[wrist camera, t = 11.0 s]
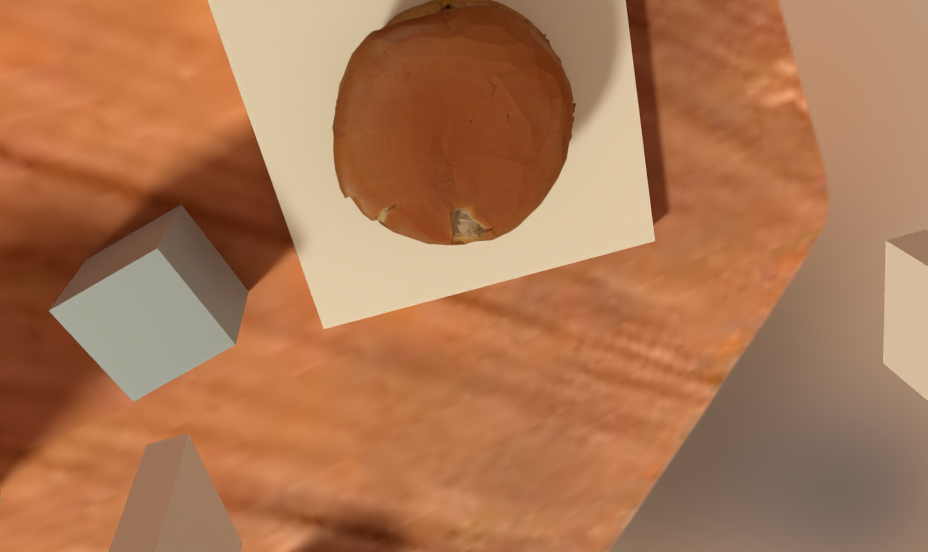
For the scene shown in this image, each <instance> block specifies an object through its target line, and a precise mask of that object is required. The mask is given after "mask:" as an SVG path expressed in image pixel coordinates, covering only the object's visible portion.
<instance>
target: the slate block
mask: <svg viewBox="0 0 928 552" xmlns="http://www.w3.org/2000/svg"><path fill="white" fill-rule="evenodd" d="M248 292H249V291H248V290H247V289H246V287H245V286H244V285H243V283H242V282H241V281H240V280H239V278H238V277H237V276H236V274H235V273H234V272H233V271H232V269H231V268H230V267H229V265H228V264H227V263H226V261H225V260H224V259H223V258H222V256H221V255H220V254H219V252H218V251H217V250H216V249H215V247H214V246H213V245H212V243H211V242H210V241H209V239H208V238H207V237H206V236H205V234H204V233H203V232H202V230H201V229H200V228H199V227H198V225H197V224H196V223H195V221H194V220H193V219H192V217H191V216H190V215H189V214H188V212H187V211H186V210H185V208H184V207H183V206H182V205H179V206H177V207H176V208H174V209H172V210H171V211H169V212H167V213H165V214H164V215H162V216H160V217H159V218H157V219H155V220H153V221H152V222H150V223H148V224H146V225H145V226H143V227H141V228H140V229H138V230H136V231H134V232H133V233H131V234H129V235H128V236H126V237H124V238H122V239H121V240H119V241H117V242H115V243H114V244H112V245H110V246H109V247H107V248H105V249H103V250H102V251H100V252H98V253H96V254H95V255H93V256H91V257H90V258H88V259H86V260H85V262H84V263H83V265H82V266H81V267H80V269H79V270H78V271H77V273H76V274H75V275H74V277H73V278H72V280H71V281H70V282H69V284H68V285H67V286H66V288H65V289H64V291H63V292H62V293H61V295H60V296H59V297H58V299H57V300H56V302H55V303H54V304H53V306H52V307H51V308H50V310H49V312H50V313H51V314H52V315H53V316H54V317H55V318H56V319H57V320H58V322H59V323H60V324H61V325H62V326H63V327H64V328H65V329H66V330H67V331H68V332H69V333H70V334H71V335H72V337H73V338H74V339H75V340H76V341H77V342H78V343H79V344H80V345H81V346H82V347H83V348H84V349H85V351H86V352H87V353H88V354H89V355H90V356H91V357H92V358H93V359H94V360H95V361H96V362H97V363H98V365H99V366H100V367H101V368H102V369H103V370H104V371H105V372H106V373H107V374H108V375H109V376H110V377H111V378H112V380H113V381H114V382H115V383H116V384H117V385H118V386H119V387H120V388H121V389H122V390H123V391H124V392H125V394H126V395H127V396H128V397H129V398H130V399H131V400H132V401H133V402H134V401H135V400H137V399H139V398H141V397H143V396H144V395H146V394H148V393H150V392H152V391H153V390H155V389H157V388H159V387H161V386H162V385H164V384H166V383H168V382H170V381H171V380H173V379H175V378H177V377H179V376H180V375H182V374H184V373H186V372H188V371H189V370H191V369H193V368H195V367H197V366H198V365H200V364H202V363H204V362H205V361H207V360H209V359H211V358H213V357H214V356H216V355H218V354H220V353H222V352H223V351H225V350H227V349H229V348H231V347H232V346H234V345H236V341H237V337H238V333H239V329H240V325H241V321H242V317H243V313H244V309H245V305H246V300H247V296H248Z"/></svg>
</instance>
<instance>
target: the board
mask: <svg viewBox="0 0 928 552" xmlns="http://www.w3.org/2000/svg"><path fill="white" fill-rule="evenodd" d="M429 1H432V0H208V3H209V6H210V9H211V11H212V14H213V17H214V20H215V23H216V26H217V28H218V31H219V34H220V37H221V40H222V43H223V45H224V48H225V51H226V54H227V57H228V59H229V62H230V65H231V68H232V71H233V74H234V76H235V79H236V82H237V85H238V88H239V91H240V93H241V96H242V99H243V102H244V105H245V108H246V110H247V113H248V116H249V119H250V122H251V125H252V127H253V130H254V133H255V136H256V139H257V141H258V144H259V147H260V150H261V153H262V156H263V158H264V161H265V164H266V167H267V170H268V173H269V175H270V178H271V181H272V184H273V187H274V190H275V192H276V195H277V198H278V201H279V204H280V207H281V209H282V212H283V215H284V218H285V221H286V224H287V226H288V229H289V232H290V235H291V238H292V240H293V243H294V246H295V249H296V252H297V255H298V257H299V260H300V263H301V266H302V269H303V272H304V274H305V277H306V280H307V283H308V286H309V289H310V291H311V294H312V297H313V300H314V303H315V306H316V308H317V311H318V314H319V317H320V320H321V322H322V325H323V328H324V329H326V328H330V327H334V326H337V325H341V324H345V323H349V322H352V321H356V320H360V319H364V318H367V317H371V316H375V315H379V314H382V313H386V312H390V311H394V310H398V309H401V308H405V307H409V306H413V305H416V304H420V303H424V302H428V301H431V300H435V299H439V298H443V297H446V296H450V295H454V294H458V293H461V292H465V291H469V290H473V289H476V288H480V287H484V286H488V285H491V284H495V283H499V282H503V281H506V280H510V279H514V278H518V277H522V276H525V275H529V274H533V273H537V272H540V271H544V270H548V269H552V268H555V267H559V266H563V265H567V264H570V263H574V262H578V261H582V260H585V259H589V258H593V257H597V256H600V255H604V254H608V253H612V252H615V251H619V250H623V249H627V248H630V247H634V246H638V245H642V244H646V243H649V242H653V241H655V237H654V229H653V221H652V213H651V204H650V196H649V188H648V180H647V172H646V163H645V155H644V147H643V139H642V131H641V123H640V114H639V106H638V98H637V90H636V82H635V73H634V65H633V57H632V49H631V41H630V33H629V24H628V16H627V8H626V0H493V1H496V2H498V3H501V4H503V5H506V6H508V7H509V8H511V9H513V10H515V11H517V12H518V13H520V14H521V15H523V16H524V17H525V18H527V19H528V20H530V21H531V22H532V23H533V24H534V25H535V26H536V27H537V28H538V29H539V30H540V31H541V32H542V34H546V39H548V40H549V41H550V45H551V47H552V49H553V50H554V52H555V53H556V55H557V56H558V57H559V58H560V60H561V64H562V67H563V69H564V71H565V73H566V76H567V78H568V80H569V82H570V85H571V89H572V96H573V100H574V101H573V103H576V106H575V112H574V113H573V116H574V122H573V127H572V138H571V140H570V142H569V148H568V155H567V160H566V162H565V164H564V166H563V168H562V171H561V173H560V175H559V177H558V179H557V181H556V182H555V184H554V185H553V187H552V189H551V190H550V192H549V193H548V195H547V196H546V198H545V199H544V200H543V202H542V203H541V205H540V206H539V207H538V208H537V209H535V210H534V211H533V212H532V213H531V214H530V215H529V216H528V217H527V218H526V219H525V220H524V221H523V222H522V223H521V224H520V225H519V226H518V227H517V228H515V229H514V230H512V231H511V232H509V233H507V234H505V235H502V236H500V237H498V238H496V239H494V240H489V241H476V242H471V243H468V244H465V245H437V244H427V243H424V242H421V241H418V240H415V239H412V238H409V237H406V236H403V235H400V234H397V233H394V232H392V231H391V230H389V229H387V228H386V227H384V226H383V225H381V224H380V223H379V221H378V220H376V221H371V220H370V219H369V218H367V217H366V216H365V215H363V214H362V212H361V211H360V210H359V208H358V207H357V206H356V204H355V203H354V201H353V200H352V199H351V198H350V197H347V198H345V197H344V195H343V193H342V192H341V190H340V186H339V183H338V179H337V176H336V171H335V165H334V155H333V137H334V136H333V128H332V126H333V122H334V116H335V107H336V101H337V97H338V91H339V84H340V82H341V80H342V77H343V75H344V72H345V70H346V67H347V64H348V62H349V59H350V57H351V55H352V53H353V52H354V51H355V50H356V48H357V47H358V46H359V45H360V43H361V42H362V41H363V40H364V39H365V38H366V36H367V35H369V34H370V33H371V32H372V31H374V30H380V29H381V28H383V27H384V26H385V25H386V24H387V23H388V22H389V21H390V20H391V19H392V18H393V17H394V16H396V15H398V14H399V13H401V12H403V11H405V10H407V9H409V8H412V7H415V6H418V5H421V4H424V3H426V2H429ZM331 128H332V129H331Z"/></svg>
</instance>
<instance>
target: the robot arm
mask: <svg viewBox="0 0 928 552" xmlns="http://www.w3.org/2000/svg"><path fill="white" fill-rule="evenodd" d="M884 309H885V310H884V351H883V352H884V354H883V363H884V364H885V365H886V366H887V367H888V368H890V369H891V370H892V371H893V372H894V373H896V374H897V375H898V376H899V377H900V378H902V379H903V380H904V381H905V382H906V383H907V384H909V385H910V386H911V387H912V388H914V389H915V390H916V391H917V392H918V393H920V394H921V395H922V396H923V397H924V398H925V399H926V400H928V231H927V230H923V231H919V232H915V233H911V234H908V235H904V236H901V237H897V238H894V239H890V240H887V241H886V263H885V307H884ZM241 550H242V542H241V540H240V538H239V536H238V534H237V532H236V529H235V527H234V525H233V523H232V521H231V519H230V517H229V515H228V513H227V511H226V509H225V507H224V505H223V503H222V501H221V499H220V497H219V495H218V493H217V491H216V489H215V487H214V485H213V483H212V481H211V478H210V476H209V474H208V472H207V470H206V468H205V466H204V464H203V462H202V460H201V458H200V456H199V454H198V452H197V450H196V448H195V446H194V444H193V442H192V440H191V438H190V436H189V434H184V435H181V436H177V437H174V438H170V439H166V440H163V441H159V442H156V443H152V444H148V445H146V448H145V451H144V453H143V456H142V459H141V462H140V465H139V468H138V471H137V473H136V476H135V479H134V482H133V485H132V488H131V491H130V493H129V496H128V499H127V502H126V505H125V508H124V510H123V513H122V516H121V519H120V522H119V525H118V528H117V530H116V533H115V536H114V539H113V542H112V545H111V548H110V550H109V552H241Z"/></svg>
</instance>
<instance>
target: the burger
mask: <svg viewBox="0 0 928 552" xmlns="http://www.w3.org/2000/svg"><path fill="white" fill-rule="evenodd" d="M573 101H574V100H573V96H572V89H571V85H570V82H569V80H568V78H567V76H566V73H565V71H564V69H563V67H562V64H561V60H560V58H559V57H558V56H557V55H556V53H555V52H554V50H553V49H552V47H551V45H550V41H549V40H548V39H546V34H542V32H541V31H540V30H539V29H538V28H537V27H536V26H535V25H534V24H533V23H532V22H531V21H530V20H528V19H527V18H525V17H524V16H523V15H521V14H520V13H518V12H517V11H515V10H513V9H511V8H509V7H508V6H506V5H503V4H501V3H498V2H496V1H493V0H432V1H429V2H426V3H424V4H421V5H418V6H415V7H412V8H409V9H407V10H405V11H403V12H401V13H399V14H398V15H396V16H394V17H393V18H392V19H391V20H390V21H389V22H388V23H387V24H386V25H385V26H384V27H383V28H381V29H380V30H374V31H372V32H371V33H370V34H369V35H367V36H366V38H365V39H364V40H363V41H362V42H361V43H360V45H359V46H358V47H357V48H356V50H355V51H354V52H353V53H352V55H351V57H350V59H349V62H348V64H347V67H346V70H345V72H344V75H343V77H342V80H341V82H340V84H339V91H338V97H337V101H336V107H335V116H334V122H333V126H332V128H333V136H334V137H333V155H334V165H335V171H336V176H337V179H338V183H339V186H340V190H341V192H342V193H343V195H344V197H345V198H347V197H350V198H351V199H352V200H353V201H354V203H355V204H356V206H357V207H358V208H359V210H360V211H361V212H362V214H363V215H365V216H366V217H367V218H369V219H370V220H371V221H376V220H378V221H379V223H380V224H381V225H383V226H384V227H386V228H387V229H389V230H391V231H392V232H394V233H397V234H400V235H403V236H406V237H409V238H412V239H415V240H418V241H421V242H424V243H427V244H437V245H465V244H468V243H471V242H476V241H489V240H494V239H496V238H498V237H500V236H502V235H505V234H507V233H509V232H511V231H512V230H514V229H515V228H517V227H518V226H519V225H520V224H521V223H522V222H523V221H524V220H525V219H526V218H527V217H528V216H529V215H530V214H531V213H532V212H533V211H534V210H535V209H537V208H538V207H539V206H540V205H541V203H542V202H543V200H544V199H545V198H546V196H547V195H548V193H549V192H550V190H551V189H552V187H553V185H554V184H555V182H556V181H557V179H558V177H559V175H560V173H561V171H562V168H563V166H564V164H565V162H566V160H567V155H568V148H569V142H570V140H571V138H572V127H573V122H574V116H573V113H574V112H575V106H576V103H573ZM332 128H331V129H332Z"/></svg>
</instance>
